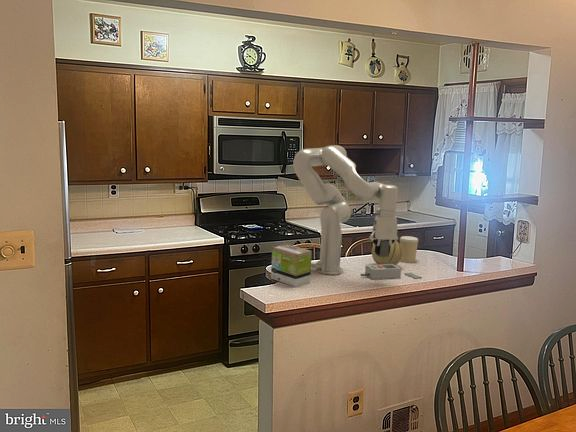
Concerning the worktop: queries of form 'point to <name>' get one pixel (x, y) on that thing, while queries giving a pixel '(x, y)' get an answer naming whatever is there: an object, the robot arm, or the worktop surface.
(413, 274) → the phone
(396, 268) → the machine vise
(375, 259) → the cantaloupe
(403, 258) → the coffee cup
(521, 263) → the worktop surface
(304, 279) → the tea box
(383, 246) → the charger
